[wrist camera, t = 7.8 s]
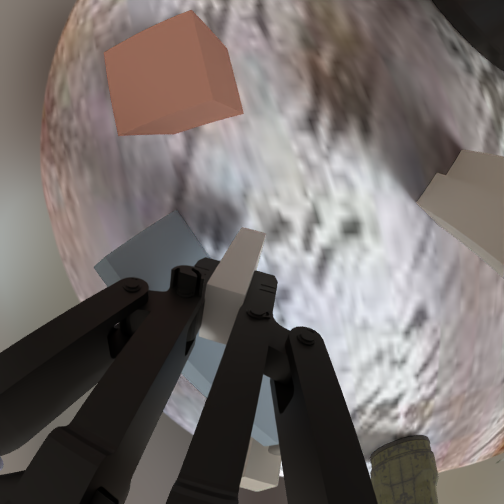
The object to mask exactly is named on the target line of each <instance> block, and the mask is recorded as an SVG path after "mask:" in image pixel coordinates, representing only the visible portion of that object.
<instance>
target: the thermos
mask: <svg viewBox="0 0 504 504" xmlns="http://www.w3.org/2000/svg"><path fill="white" fill-rule="evenodd" d="M370 458H371V464H372V470H371V472H370V474H371V482H372V485H373V489H374V492H375V495H376V499H377V502H378V504H438V499H437V492H436V486H437V481H438V472H437V467H436V462H435V457H434V454H433V452H432V451H431V447H430V441H429V438H428V437H426V436H423V435H422V436H411V437H406V438H403V439H399V440H396V441H394V442H391V443H389V444H386V445H384V446H383V447H381V448H379V449H378V450H376V451H375V452H374V453H373V454H372V455H371V457H370Z"/></svg>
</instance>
